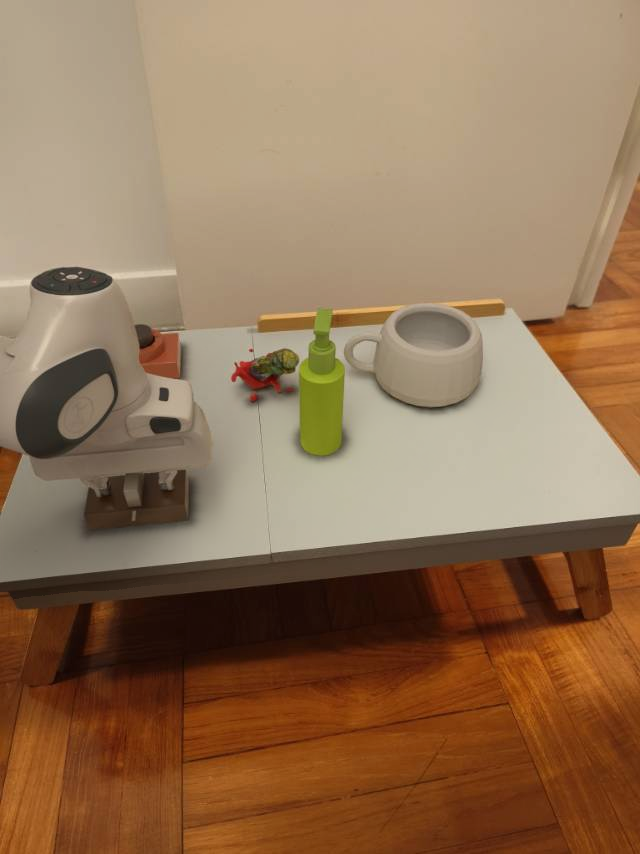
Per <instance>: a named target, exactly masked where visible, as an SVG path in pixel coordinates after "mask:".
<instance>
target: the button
mask: <svg viewBox="0 0 640 854" xmlns="http://www.w3.org/2000/svg"><path fill="white" fill-rule="evenodd" d="M134 325H135V329H136V333H137V337H138V341H139V349H144V348H146V347H149V346H151V345H152V344H153V342H154V339H153V334H152V330H151V328H152V327H151V326H149V325H147V324H143V323H141V324H140V323H139V324H134Z"/></svg>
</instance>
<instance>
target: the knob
mask: <svg viewBox="0 0 640 854" xmlns="http://www.w3.org/2000/svg"><path fill="white" fill-rule="evenodd" d="M144 473H145V472H138V473H128V474H124V475H125V481H124V490H123V492H124V495H125V498H126V501H127V504H128V507H136V506H142V496H143V484H144Z"/></svg>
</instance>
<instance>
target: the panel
mask: <svg viewBox="0 0 640 854" xmlns="http://www.w3.org/2000/svg"><path fill="white" fill-rule="evenodd" d="M159 472H160V471H152V472H143V473H144V484H143V496H142V506H136V507H128V504H127V501H126V498H125V495H124V492H123V490H124V481H125V474H120V475H110V476H107V477H108V479H109V483H110V484H111V491H110V496H103V497H97V495H96V493H95V490H94V489H92V488H90V487H89V486H88V488H87V494H86V500H85V507H84V512H83V517H84V519H85V522H86V524H87V527H88V529H89V531H98V530H109V529H118V528H127V527H136V526H137V527H138V526H146V525H155V524H166V523H175V522H186V521H189V505H190V504H189V502H190V501H189V500H190V498H189V497H190V484H189V479H188V473H187V468H183V469H177V474H176V475H175V477H174V479H173V490H166V491H160V487H159V483H158V482H159ZM162 472H165V470H162ZM100 477H101V478H105V477H106V476H100Z"/></svg>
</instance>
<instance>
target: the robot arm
mask: <svg viewBox="0 0 640 854" xmlns="http://www.w3.org/2000/svg"><path fill="white" fill-rule="evenodd" d="M29 295H30V296H29V298H30V304H29V305H30V306H29V309H28V312H27V315H26V318H25V319H24V323H23V325H22V326H21V329H20V330H19V333H17V335H16V337H15V338H10V337H8V336H7V337H6V336H4V335H0V447H1V448H5V449H8V450H10V451H13V452H15V453H19V454H22V455H25V456H28V457H29V460H30V465H31V468H32V470H33V473H34V475H35V477H37V478H39V479H41V480H43V481H45V482H51V481H63V480H71V479H72V480H73V479H79V480H80V482H81V483H82V484H83V485H86V486H87V487H88V488H89V487H90V488H92V489H94V490H95V493H96V495H97V497H103V496H110V491H111V484H110V483H109V479H108V477H109V476H118V475H125V474H128V473H138V472H143V473H150V472H159V482H158V483H159V487H160V491H166V490H173V479H174V477H175V475H176V474H177V470H182V469H191V468H203V467H207V466H208V465H209V464H210V463H211V462H212V460H213V457H214V453H213V452H214V451H213V450H214V448H213V447H214V446H213V438H212V432H211V430H210V426H209V423H208V420H207V417H206V414H205V412H204V410H203V408H202V407H201V406H200V404H198V403H197V402H195V399H194V391H193V386H192V384H191V382H189V381H187V380H184V379H179V378H174V379H172V378H166V377H161V376H157V375H152V374H149V373H146V372H145V370H144V368H143V367H142V365H141V364H140V362H139V341H138V337H137V333H136V329H135V325H136V324H135V321H134V318H133V315H132V312H131V309H130V306H129V303H128V301H127V298H126V296H125V294H124V292H123V289H122V288H121V287H120V285H119V284H118V282H117V281H116V280H115V278H114V277H112V276H111V275H109V274H107V273H106V272H103V271H100V270H96V269H92V268H87V267H83V266H82V267H81V266H61V267H56V268H51V269H49V270H44V271H43V272H41V273H39V274H37V275H36V276H34V277H33V278H32V279H31V281H30V283H29ZM163 471H165V472H163ZM101 477H105V478H101Z"/></svg>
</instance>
